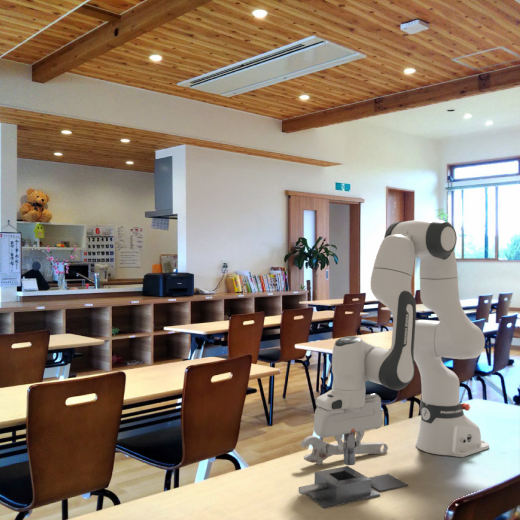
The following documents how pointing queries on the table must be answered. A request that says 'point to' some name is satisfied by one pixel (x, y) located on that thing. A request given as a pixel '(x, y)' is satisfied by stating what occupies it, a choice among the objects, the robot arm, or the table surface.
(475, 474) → the table surface
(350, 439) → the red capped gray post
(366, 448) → the wrench
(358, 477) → the grey square socket base
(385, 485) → the mat
